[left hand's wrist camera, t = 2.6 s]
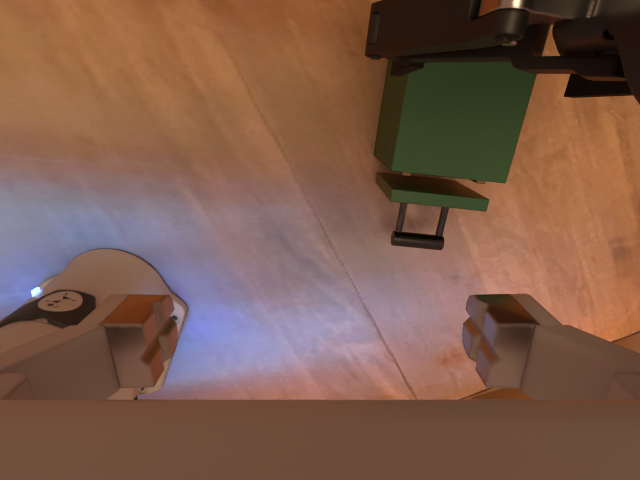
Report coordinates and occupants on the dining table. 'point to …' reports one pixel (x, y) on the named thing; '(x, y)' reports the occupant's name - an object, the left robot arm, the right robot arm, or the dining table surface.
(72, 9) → the dining table surface
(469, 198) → the drawer
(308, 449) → the left robot arm
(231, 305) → the dining table surface
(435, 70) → the green drawer cabinet
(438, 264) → the dining table surface
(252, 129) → the dining table surface
